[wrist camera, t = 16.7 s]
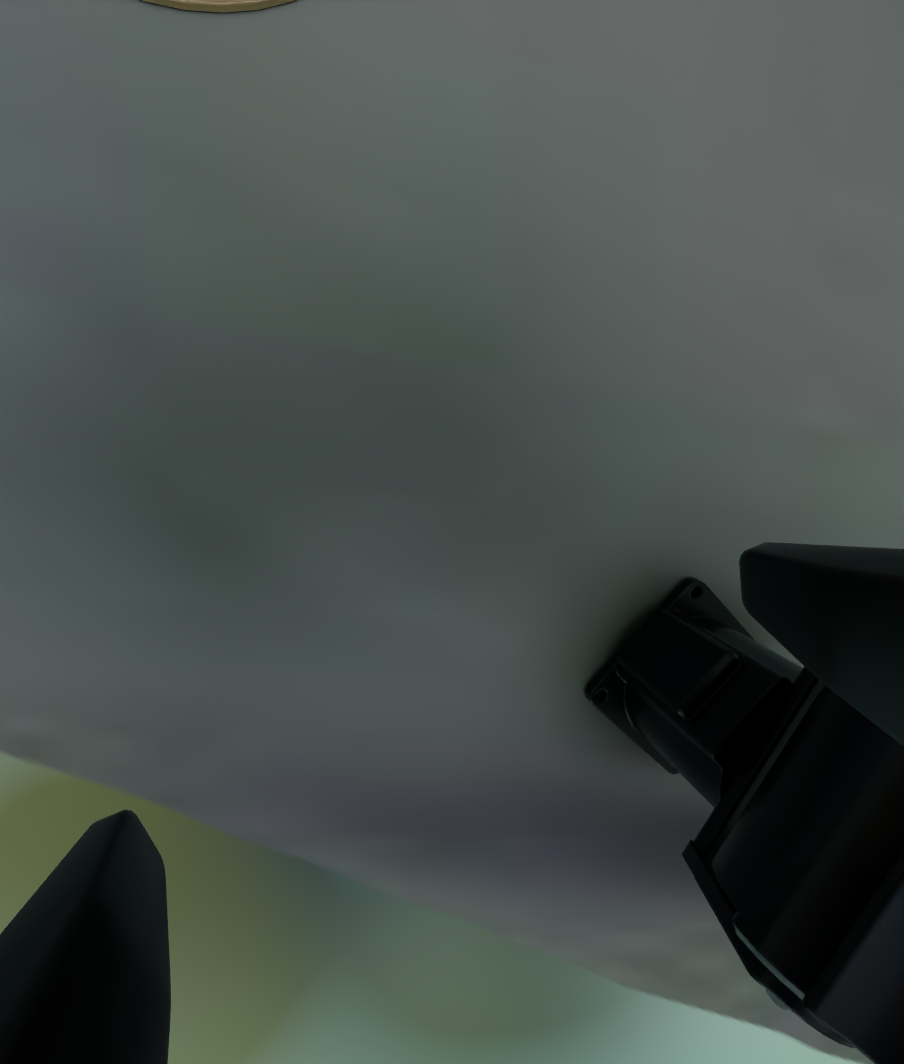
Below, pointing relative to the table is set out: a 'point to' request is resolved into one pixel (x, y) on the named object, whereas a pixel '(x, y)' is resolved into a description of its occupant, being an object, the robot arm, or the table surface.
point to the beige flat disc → (219, 4)
